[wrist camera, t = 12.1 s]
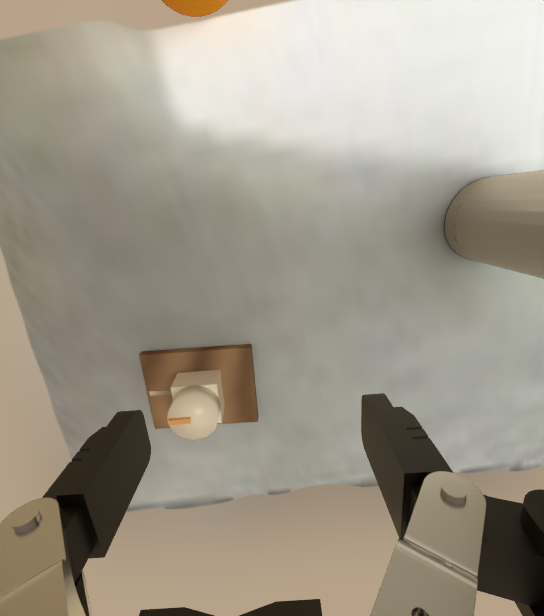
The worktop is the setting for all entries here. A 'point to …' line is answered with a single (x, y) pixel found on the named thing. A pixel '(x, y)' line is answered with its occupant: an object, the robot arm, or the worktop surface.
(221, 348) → the plate
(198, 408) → the knob
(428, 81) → the worktop surface
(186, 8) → the beer bottle
